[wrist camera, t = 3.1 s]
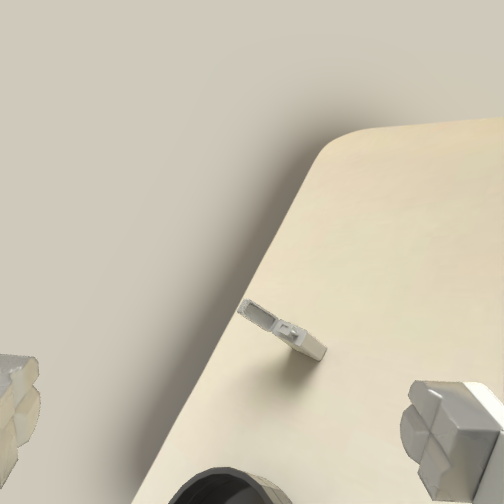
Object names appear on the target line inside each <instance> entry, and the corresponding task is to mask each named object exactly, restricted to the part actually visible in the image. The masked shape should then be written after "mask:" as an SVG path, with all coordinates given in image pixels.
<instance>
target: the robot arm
mask: <svg viewBox="0 0 504 504" xmlns="http://www.w3.org/2000/svg"><path fill="white" fill-rule="evenodd" d="M38 376H39V367H38V361H37V359H36V358H35V357H30V356H17V355H5V354H0V489H2V487H3V485H4V483H5V482H6V480H7V478H8V476H9V474H10V473H11V471H12V469H13V468H14V466H15V464H16V462H17V461H18V450H17V448H19V447H20V446H22V445H24V444H25V443H27V442H28V441H29V439H30V437H31V435H32V434H33V432H34V430H35V427H36V423H37V420H38V417H39V411H40V393H39V391H38V390H37V389H36V388H35V387H34V386H33V384H34V382H35V381H36V379H37V377H38ZM408 397H409V399H410V401H411V403H412V404H411V405H410V406H409V407H408V408H407V409H406V410H405V411H404V412H403V415H402V419H401V423H400V433H401V440H402V443H403V447H404V449H405V451H406V453H407V455H408V456H409V457H410V458H411V459H413V460H414V461H415V462H417V463H418V464H419V465H420V466H419V470H418V475H419V477H420V479H421V480H422V482H423V484H424V486H425V488H426V490H427V491H428V493H429V495H430V497H431V499H432V501H448V502H465V503H472V504H504V404H503V403H502V402H501V401H500V400H499V399H498V398H497V397H496V396H495V395H494V394H493V393H492V392H491V391H490V390H489V389H488V388H487V387H486V386H485V385H483V384H481V383H479V382H438V381H416V380H415V381H414V383H413V384H412V385H411V387H410V391H409V394H408Z"/></svg>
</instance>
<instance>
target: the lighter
mask: <svg viewBox="0 0 504 504" xmlns="http://www.w3.org/2000/svg"><path fill="white" fill-rule="evenodd" d="M237 312H238V313H239V314H240V315H242V316H243V317H245V318H246V319H248V320H250V321H251V322H253V323H254V324H256V325H257V326H259V327H261V328H262V329H264V330H265V331H268V332H272V333H273V334H274V335H275V336H277V337H278V338H279V339H281V340H282V341H283V342H285V343H286V344H288V345H289V346H290V347H292V348H293V349H295V350H297V351H299V352H301V353H303V354H305V355H307V356H309V357H311V358H313V359H316V360H318V361H321V359H322V357H323V355H324V353H325V352H326V350H327V347H326V346H325V345H324V344H323V343H321V342H320V341H319V340H318V339H317V338H315V337H314V336H313V335H312V334H311V333H309V332H308V331H307V330H304V329H302V328H300V327H297V326H295V325H293V324H291V323H288V322H286V321H284V320H281V319H280V320H278V317H276V316H274V315H273V314H271V313H270V312H268V311H267V310H265V309H264V308H262V307H261V306H259V305H258V304H256V303H254V302H253V301H251V300H250V299H244V300H243V302H242V303H241V305H240V307H239V308H238V310H237Z"/></svg>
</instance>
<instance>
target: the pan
mask: <svg viewBox="0 0 504 504" xmlns="http://www.w3.org/2000/svg"><path fill="white" fill-rule="evenodd" d="M168 504H292V502H291V501H290V499H289V498H288V497H287V496H286V495H285V493H284V492H283V491H282V490H280V489H279V488H278V487H277V486H276V485H274V484H273V483H271V482H270V481H268V480H267V479H265V478H262V477H259V476H256V475H253V474H250V473H247V472H244V471H240V470H237V469H234V468H231V467H217V468H211V469H208V470H206V471H203V472H201V473H199V474H197V475H195V476H194V477H193V478H191V479H190V480H189V481H188V482H186V483H185V484H184V485H182V487H181V488H180V489H179V490H178V492H177V493H176V494H175V495H174V497H173V498H172V499H171V500H170V502H169V503H168Z"/></svg>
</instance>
